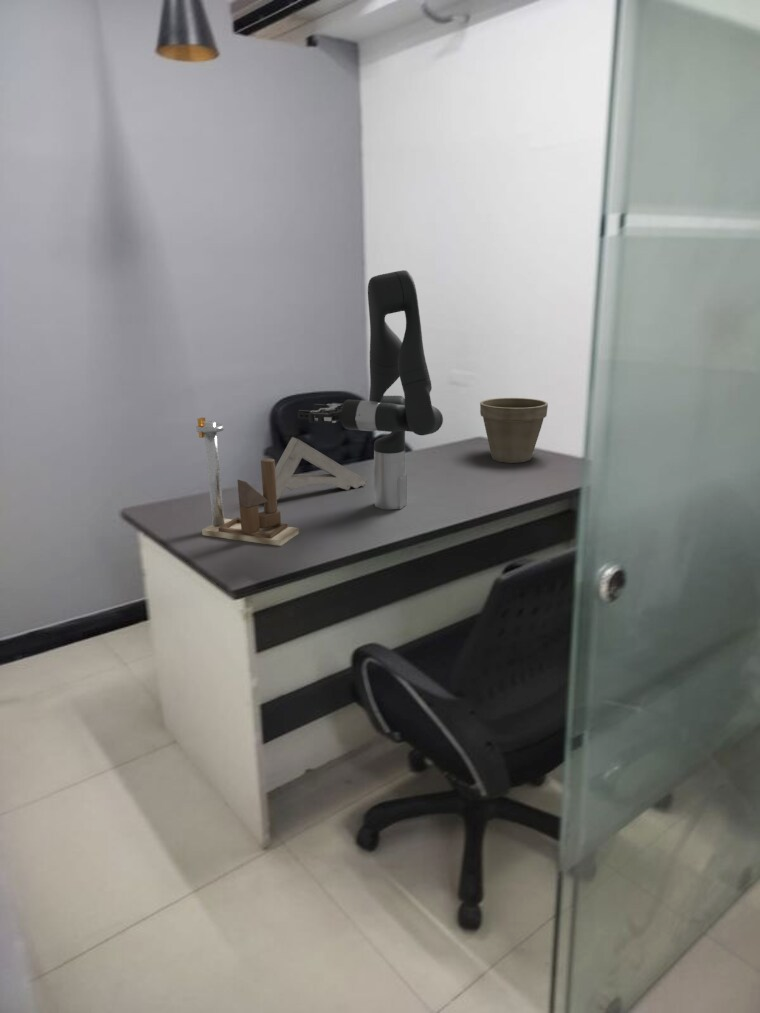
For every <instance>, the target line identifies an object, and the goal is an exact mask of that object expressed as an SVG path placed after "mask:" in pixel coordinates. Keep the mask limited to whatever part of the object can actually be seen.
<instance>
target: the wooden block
mask: <svg viewBox="0 0 760 1013" xmlns="http://www.w3.org/2000/svg"><path fill="white" fill-rule="evenodd" d="M275 461H276V460H275V459H274V458H269V457H268V458H267V457H266V458H263V459H261V460H260V469H261V471H260V472H261V484H262V491H263V496H262V495H261V492H259V491H257V489H256V488H254V487H253V486H252V485H250V484H249V483H248V482H247V481H244V480H241V479H237V491H238V503H239V512H240V514H239V515H240V517H239V518H241V529H242V531H244V532H246V533H249V534H250V533H253V532H256V531H259V530H260V528H268V527H271V526H274V525H277V524H280V523H282V520H281V519H282V518H281V511H280V510H278V500H277V493H276V476H275V467H276V463H275ZM259 505H263V511H261V512H259Z"/></svg>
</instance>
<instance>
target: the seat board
mask: <svg viewBox="0 0 760 1013" xmlns="http://www.w3.org/2000/svg"><path fill="white" fill-rule="evenodd" d="M224 523H225V524H224V525H223V526H220V527H215V526H213V523H211V524H210V525H208V526H206V527H204V528H202V530H201V533H202V536H207V537H212V538H213V537H215V538H222V539H228V540H235V541H243V542H249V543H256V544H257V543H258V544H262V545H263V544H264V545H270V546H278V547H281V546H283V545H285V544H286V543H287V542H289V541H290V540H291V539H293V538H294V537H296V536H297V535H298V534H300V532H299V531H300V530H299V527H294V526H293V527H292V526H288V525H289V524H288V523H285V522H284V523H283V522H281V523H280V524H277V525H274V526H271V527H268V528H260V530H259V531H256V532H253V533H250V534H249V533H246V532H244V531H242V529H241V517H235V518H233V519H231V518H224Z"/></svg>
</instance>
